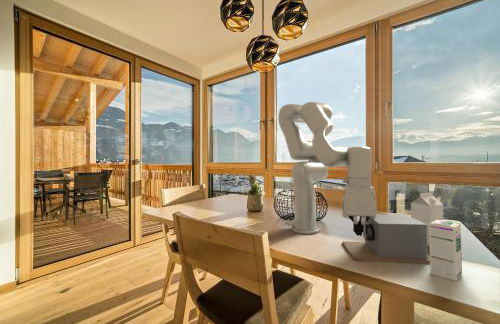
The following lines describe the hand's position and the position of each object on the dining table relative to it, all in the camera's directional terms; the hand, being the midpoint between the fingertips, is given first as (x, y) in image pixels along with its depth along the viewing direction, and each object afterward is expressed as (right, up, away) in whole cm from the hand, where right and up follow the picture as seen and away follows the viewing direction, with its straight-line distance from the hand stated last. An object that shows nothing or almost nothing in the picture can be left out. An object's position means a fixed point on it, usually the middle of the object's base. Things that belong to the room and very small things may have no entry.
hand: (358, 234), depth 78 cm
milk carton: (+30, -6, +7) cm, 31 cm away
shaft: (+11, -2, -2) cm, 12 cm away
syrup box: (+17, -6, -16) cm, 24 cm away
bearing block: (+8, -6, -1) cm, 10 cm away
